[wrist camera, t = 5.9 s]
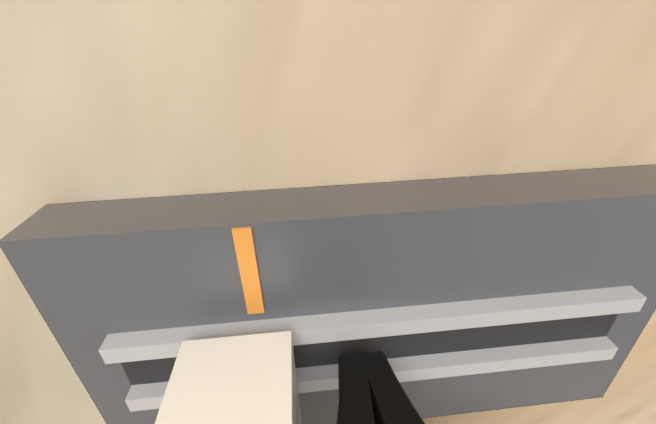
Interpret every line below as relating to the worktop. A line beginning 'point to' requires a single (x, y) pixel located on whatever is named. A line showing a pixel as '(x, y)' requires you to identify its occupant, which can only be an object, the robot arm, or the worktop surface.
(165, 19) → the worktop surface
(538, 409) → the worktop surface
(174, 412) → the fader tab
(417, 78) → the worktop surface
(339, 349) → the fader console
